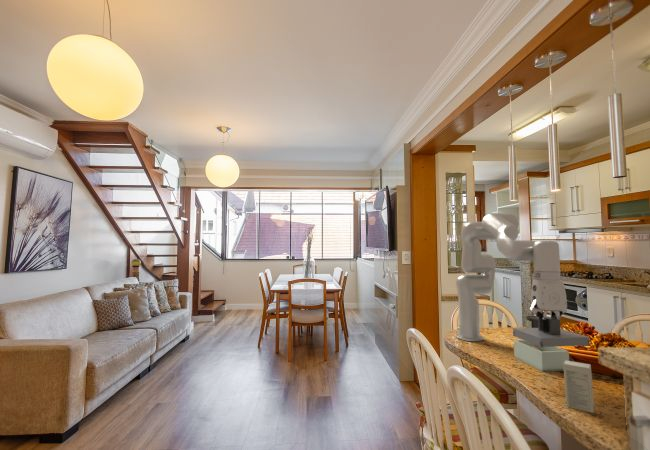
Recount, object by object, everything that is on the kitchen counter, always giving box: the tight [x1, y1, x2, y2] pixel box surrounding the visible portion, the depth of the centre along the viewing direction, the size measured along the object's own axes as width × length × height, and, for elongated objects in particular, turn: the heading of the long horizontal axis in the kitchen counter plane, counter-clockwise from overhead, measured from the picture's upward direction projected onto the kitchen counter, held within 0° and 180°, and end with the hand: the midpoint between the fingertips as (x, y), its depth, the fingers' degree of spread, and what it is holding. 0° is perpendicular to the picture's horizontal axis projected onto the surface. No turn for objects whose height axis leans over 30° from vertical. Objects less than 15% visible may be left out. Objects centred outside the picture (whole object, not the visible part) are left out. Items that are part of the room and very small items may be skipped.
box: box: [513, 339, 570, 373], centre depth 128 cm, size 15×11×7 cm
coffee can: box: [525, 315, 538, 328], centre depth 146 cm, size 10×10×14 cm
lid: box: [512, 316, 590, 347], centre depth 111 cm, size 17×13×8 cm
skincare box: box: [563, 360, 595, 413], centre depth 94 cm, size 6×4×12 cm
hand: (549, 330), depth 111 cm, fingers closed on lid, 3 cm apart
